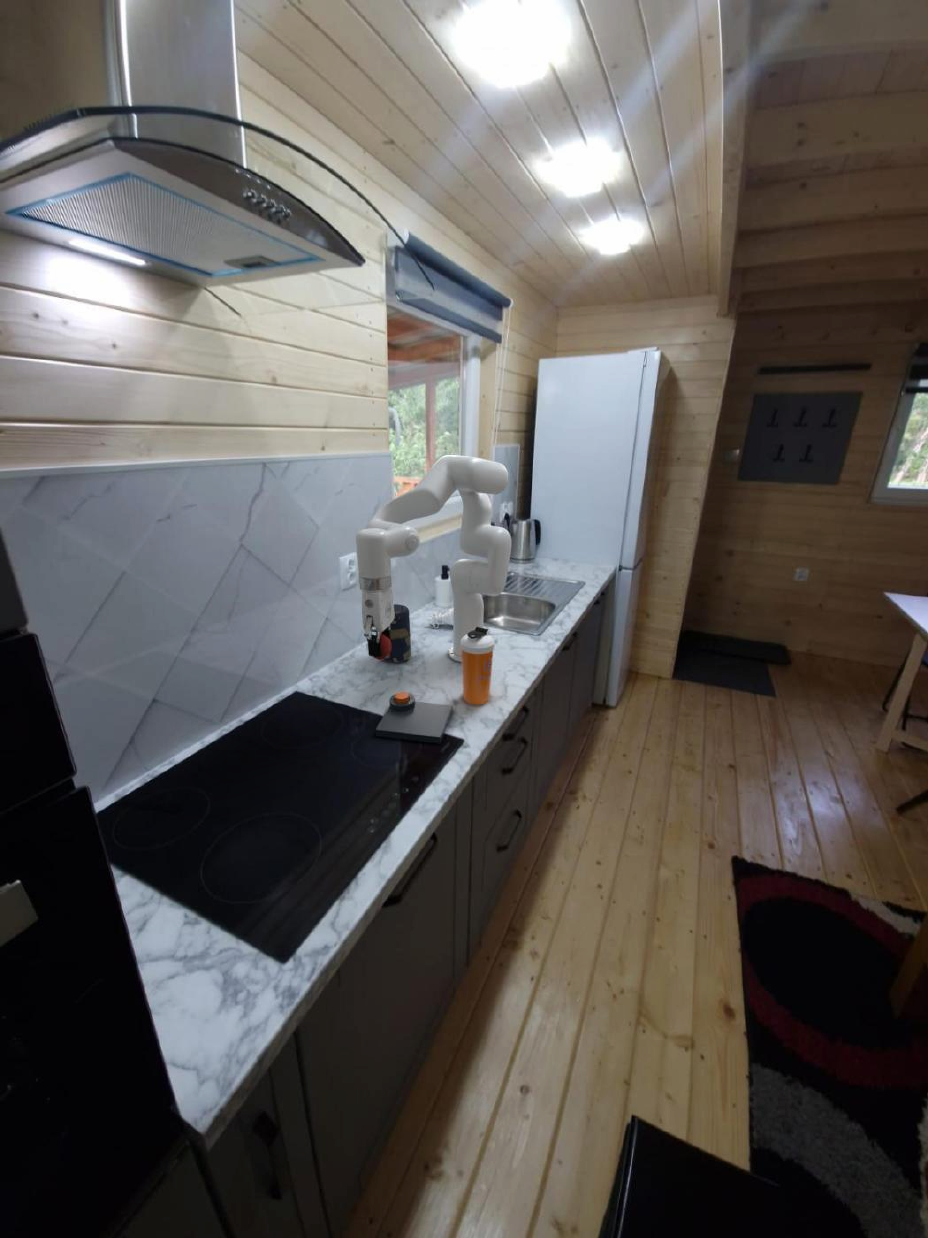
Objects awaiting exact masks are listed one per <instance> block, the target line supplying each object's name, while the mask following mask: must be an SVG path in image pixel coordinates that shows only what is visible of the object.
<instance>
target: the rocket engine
mask: <svg viewBox="0 0 928 1238" xmlns="http://www.w3.org/2000/svg"><path fill="white" fill-rule="evenodd" d="M426 620H427V622H430V624H431V625H432V627H433V628H434V629H439V627H440V624H446V625H449V626H452V627H453V607H451V608H449V609H448V610H446V611H445V612H444V613H443V614H442V613H441V612H438V613H437V612H436V611H432V616H429V617H427V618H426ZM436 625H437V627H436Z"/></svg>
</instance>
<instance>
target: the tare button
mask: <svg viewBox="0 0 928 1238" xmlns="http://www.w3.org/2000/svg"><path fill="white" fill-rule="evenodd" d="M408 693H409V692H406V691H399V692H396V693H394V695H395V702H396V703H401V704H402V703H407V702H408V701H409V694H410V693H409V694H408Z"/></svg>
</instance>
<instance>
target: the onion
mask: <svg viewBox="0 0 928 1238" xmlns="http://www.w3.org/2000/svg"><path fill="white" fill-rule="evenodd" d="M374 635H375V637H376V634H374ZM379 641H381V651H382V656H381V657H374V656H371V657H372V658H373V659H375V660H378V661H383V660H384V658H385V657H387V656H388V655H389V654H390V652H391V648H392V646H391V641H390V640H389V638H388V637H386V636H385V635H383V634H382V632H380V638H379Z"/></svg>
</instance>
